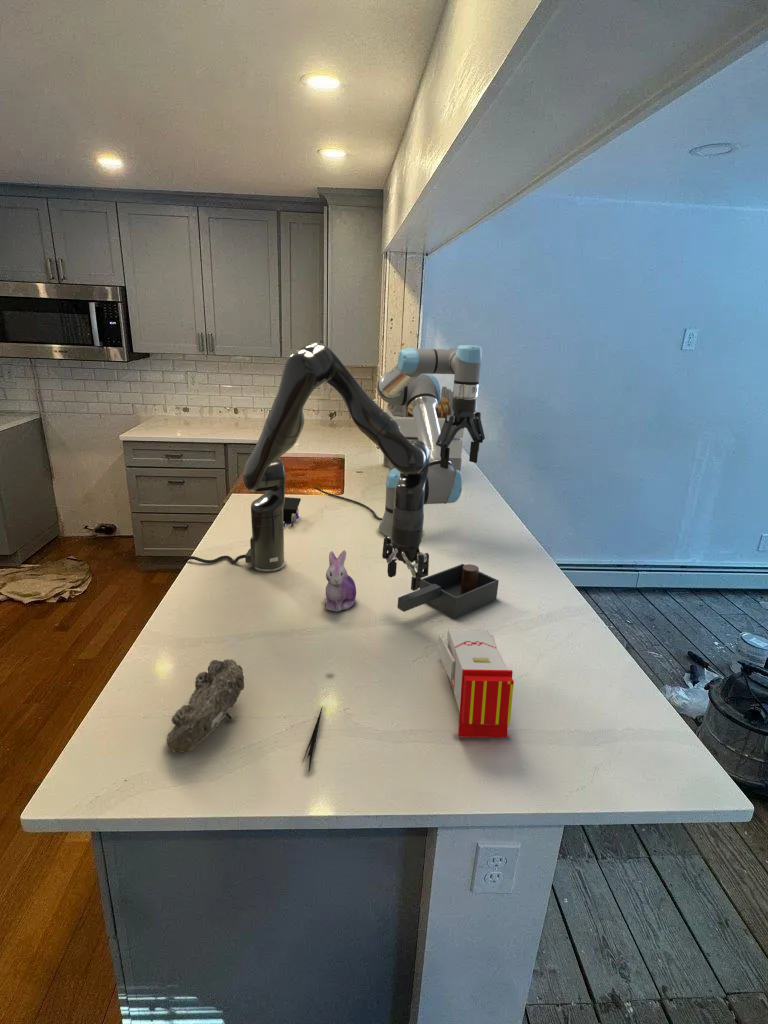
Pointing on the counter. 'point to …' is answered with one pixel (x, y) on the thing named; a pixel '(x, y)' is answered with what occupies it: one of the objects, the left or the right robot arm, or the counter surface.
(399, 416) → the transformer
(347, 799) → the counter surface
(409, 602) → the bin
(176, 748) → the fossil
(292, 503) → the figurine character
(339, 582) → the figurine
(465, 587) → the walnut peg
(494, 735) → the toy
